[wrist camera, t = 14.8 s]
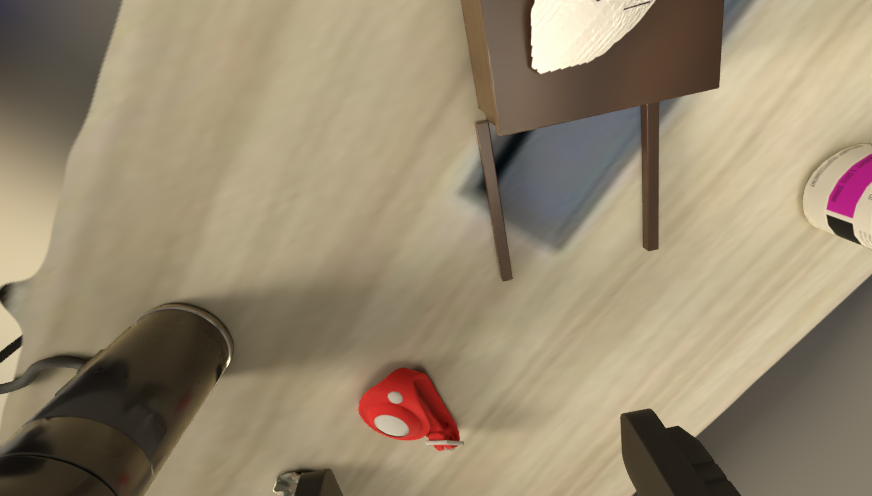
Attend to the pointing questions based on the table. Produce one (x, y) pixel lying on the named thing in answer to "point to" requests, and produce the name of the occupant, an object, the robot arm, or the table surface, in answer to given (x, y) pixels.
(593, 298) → the table surface
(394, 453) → the table surface
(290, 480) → the grey brown rock
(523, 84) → the box with long handles
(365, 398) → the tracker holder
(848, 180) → the supplement can
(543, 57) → the pincushion
